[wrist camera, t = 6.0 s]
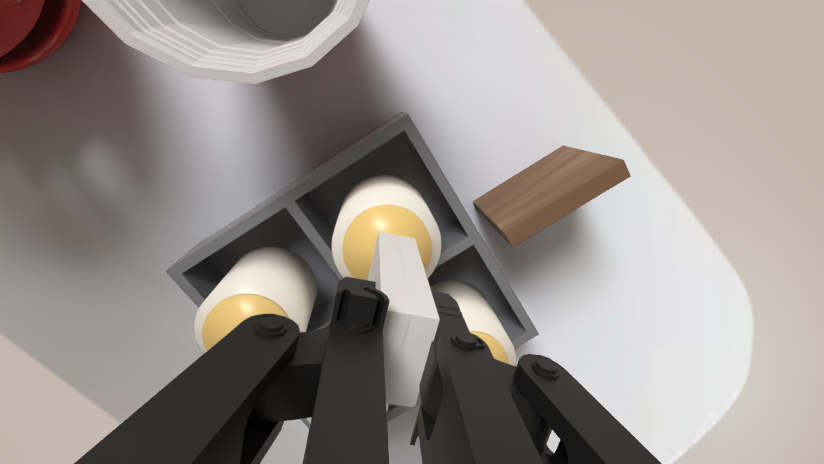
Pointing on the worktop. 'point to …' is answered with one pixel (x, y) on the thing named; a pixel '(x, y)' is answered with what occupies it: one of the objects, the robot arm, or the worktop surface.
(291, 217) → the button board
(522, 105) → the worktop surface
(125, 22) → the plastic cup
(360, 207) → the button
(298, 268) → the button
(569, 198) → the placard
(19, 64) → the plant pot
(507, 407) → the robot arm
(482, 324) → the button
